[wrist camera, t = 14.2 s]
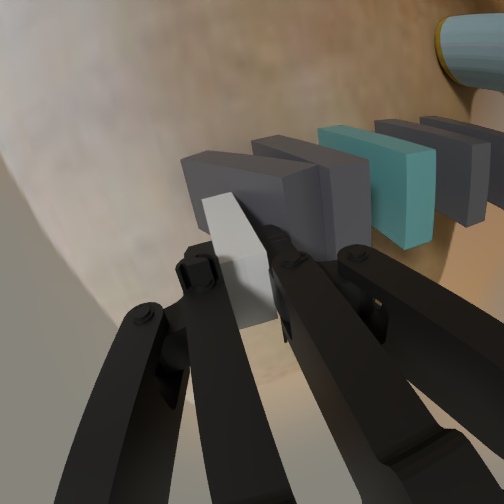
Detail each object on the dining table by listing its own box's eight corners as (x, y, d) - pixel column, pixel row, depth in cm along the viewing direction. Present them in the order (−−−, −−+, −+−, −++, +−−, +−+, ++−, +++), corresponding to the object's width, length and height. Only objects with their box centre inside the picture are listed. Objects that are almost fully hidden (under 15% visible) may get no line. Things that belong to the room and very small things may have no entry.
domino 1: (198, 228, 22) (297, 285, 14) (180, 159, 19) (281, 177, 12) (222, 217, 22) (327, 265, 15) (207, 150, 20) (317, 164, 12)
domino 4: (378, 180, 24) (466, 227, 15) (374, 120, 21) (472, 144, 13) (396, 176, 24) (484, 220, 15) (393, 118, 22) (490, 142, 13)
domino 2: (263, 207, 23) (336, 274, 14) (251, 140, 20) (329, 168, 12) (288, 200, 23) (371, 260, 15) (278, 134, 21) (368, 159, 12)
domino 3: (324, 192, 23) (404, 250, 15) (317, 128, 21) (406, 154, 12) (347, 187, 24) (431, 240, 15) (341, 125, 21) (435, 149, 12)
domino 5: (421, 171, 24) (507, 211, 16) (419, 116, 22) (513, 140, 13) (436, 168, 25) (519, 206, 16) (435, 116, 22) (525, 139, 14)
